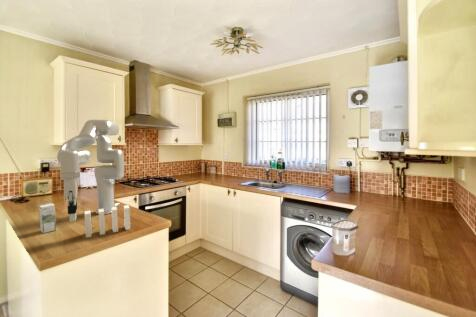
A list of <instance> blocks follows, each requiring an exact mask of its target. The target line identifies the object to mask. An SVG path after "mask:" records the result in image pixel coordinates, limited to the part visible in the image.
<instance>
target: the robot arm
mask: <svg viewBox="0 0 476 317" xmlns="http://www.w3.org/2000/svg"><path fill="white" fill-rule="evenodd" d="M119 132H120V127H119V124H118V123H117V122H115V121H112V120H108V119H89V120H87V121H86V122H84V124H83V126H82V127H81V130H80V132H79V134H78V135H76V136H74V137H72V138H70V139H68V140H66V141H65V142H63V143H62V145H61V146H60V148H59V150H58V152H57V156H56V158H57V159H56V160H57V161H58V162H59V165H60V166H59V167H60V179H61V180H62V181H63V200H64V201H67V214H68V215H69V214H74V213H76V214H77V210H78V203H77V198H78V190H79V188H78V187H79V186H78V180H79V179H81V173H80V172H81V171H80V170H81V168H80V165H85V164H88V163H89V162H90V161H91V159H92V154H91V152H90V151H88V150H87V149H83V148H86V147H89V146H92V145H94V144H95V143H96V160H97V162H98V163H100V164H103V165H98V166H97V167H95V168H94V177H95V180H96V181H95V182H96V194H97V196H96V197H97V209H96V210H95V214H96V215H99V209H104V215H109V214H112V211H111V207H118V206H119V207H120V205H121V203H120V202H117V203H116V202H115V195H114V185H113V183H112V181H111V180H122V179H123V178H124V176H125V158H124V157H125V156H124V152H123V150H122V149H119V148H112V141H111V139H110V137H109V136H117V135H118V134H119ZM114 164H115V165H114ZM72 198H74V199H72ZM72 200H73V201H72ZM75 200H76V205H75Z"/></svg>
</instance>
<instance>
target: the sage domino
mask: <svg viewBox="0 0 476 317" xmlns="http://www.w3.org/2000/svg"><path fill="white" fill-rule="evenodd" d="M72 199H74V198H72ZM72 201H73V200H72ZM76 202H77V199H76V200H75V205H76ZM68 217H69V218H68V219H69V223H71V222H76V220H77V212H76V213H74V214H68Z"/></svg>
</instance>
